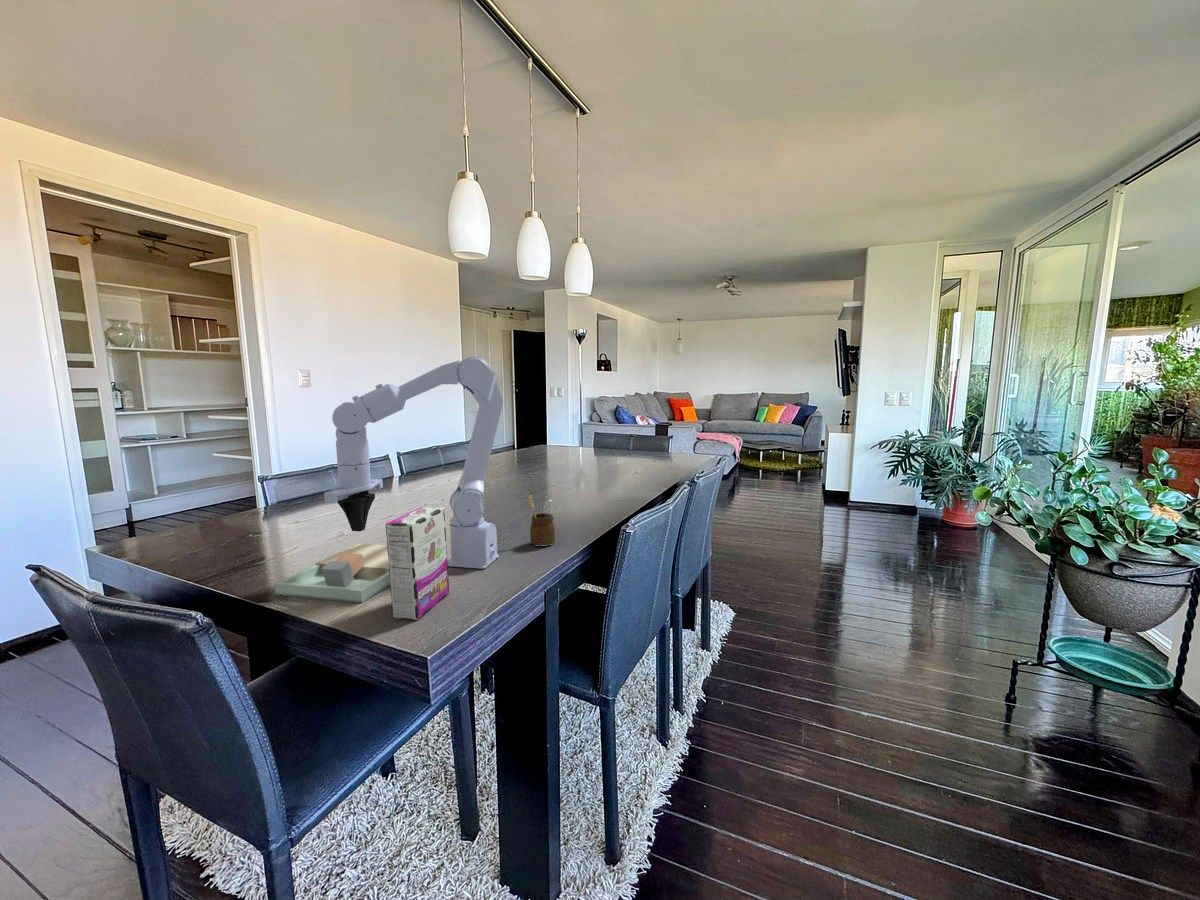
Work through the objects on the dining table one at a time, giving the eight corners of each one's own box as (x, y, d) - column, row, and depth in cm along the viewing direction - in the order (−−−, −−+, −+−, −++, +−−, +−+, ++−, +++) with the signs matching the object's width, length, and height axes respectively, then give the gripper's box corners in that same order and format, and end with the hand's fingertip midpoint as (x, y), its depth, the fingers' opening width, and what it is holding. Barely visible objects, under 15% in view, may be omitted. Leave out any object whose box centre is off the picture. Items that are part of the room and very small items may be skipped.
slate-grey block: (348, 562, 93) (340, 570, 91) (354, 579, 95) (345, 587, 93) (330, 560, 94) (321, 568, 92) (336, 578, 96) (327, 586, 93)
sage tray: (396, 581, 97) (395, 570, 96) (362, 602, 87) (361, 591, 87) (316, 574, 100) (315, 564, 100) (275, 595, 90) (274, 583, 90)
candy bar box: (425, 591, 92) (420, 505, 90) (450, 593, 91) (446, 506, 89) (389, 619, 81) (383, 522, 79) (417, 621, 80) (412, 523, 78)
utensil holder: (550, 548, 116) (549, 498, 115) (525, 546, 118) (524, 497, 116) (558, 540, 122) (557, 493, 120) (534, 539, 123) (533, 492, 122)
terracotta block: (364, 564, 98) (361, 554, 97) (352, 577, 95) (348, 566, 94) (347, 563, 99) (344, 552, 98) (334, 575, 96) (330, 565, 95)
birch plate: (431, 559, 109) (430, 548, 109) (396, 581, 97) (395, 569, 96) (359, 554, 113) (358, 543, 113) (316, 574, 100) (315, 563, 100)
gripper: (360, 457, 105) (364, 519, 107) (307, 468, 91) (313, 540, 93) (390, 458, 104) (393, 521, 105) (341, 469, 90) (346, 542, 91)
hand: (358, 530), depth 99 cm, fingers closed
